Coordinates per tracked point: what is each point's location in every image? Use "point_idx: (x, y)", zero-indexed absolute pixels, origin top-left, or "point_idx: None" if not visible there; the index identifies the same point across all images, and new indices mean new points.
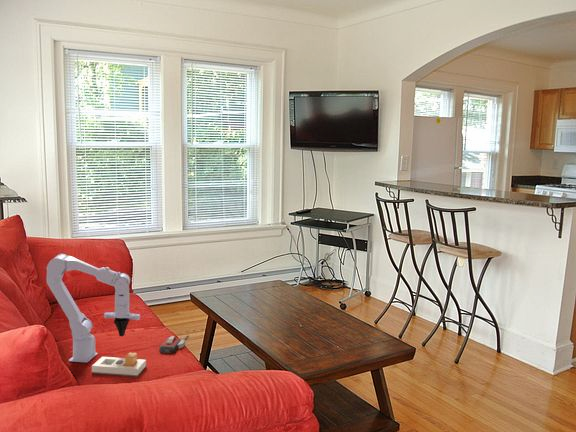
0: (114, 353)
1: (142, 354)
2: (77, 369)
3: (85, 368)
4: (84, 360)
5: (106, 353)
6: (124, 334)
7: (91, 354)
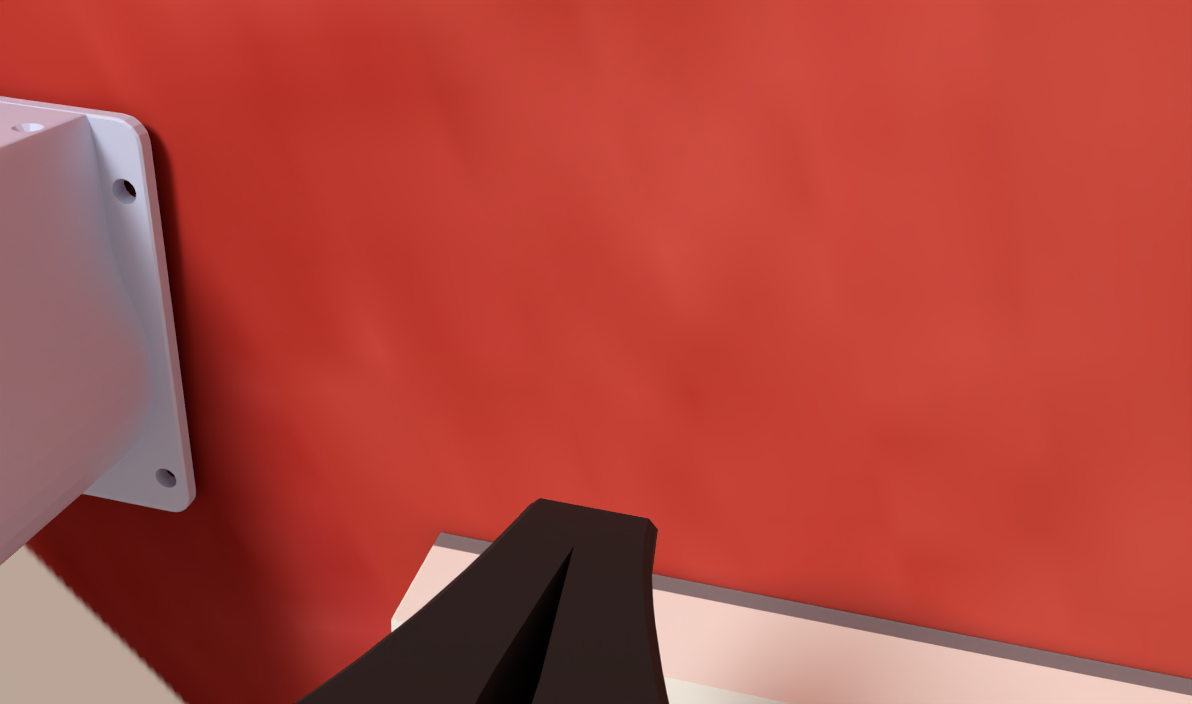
0: (461, 51)
1: (1167, 70)
2: (197, 681)
3: (280, 662)
4: (121, 471)
5: (297, 63)
6: (655, 546)
7: (115, 365)
